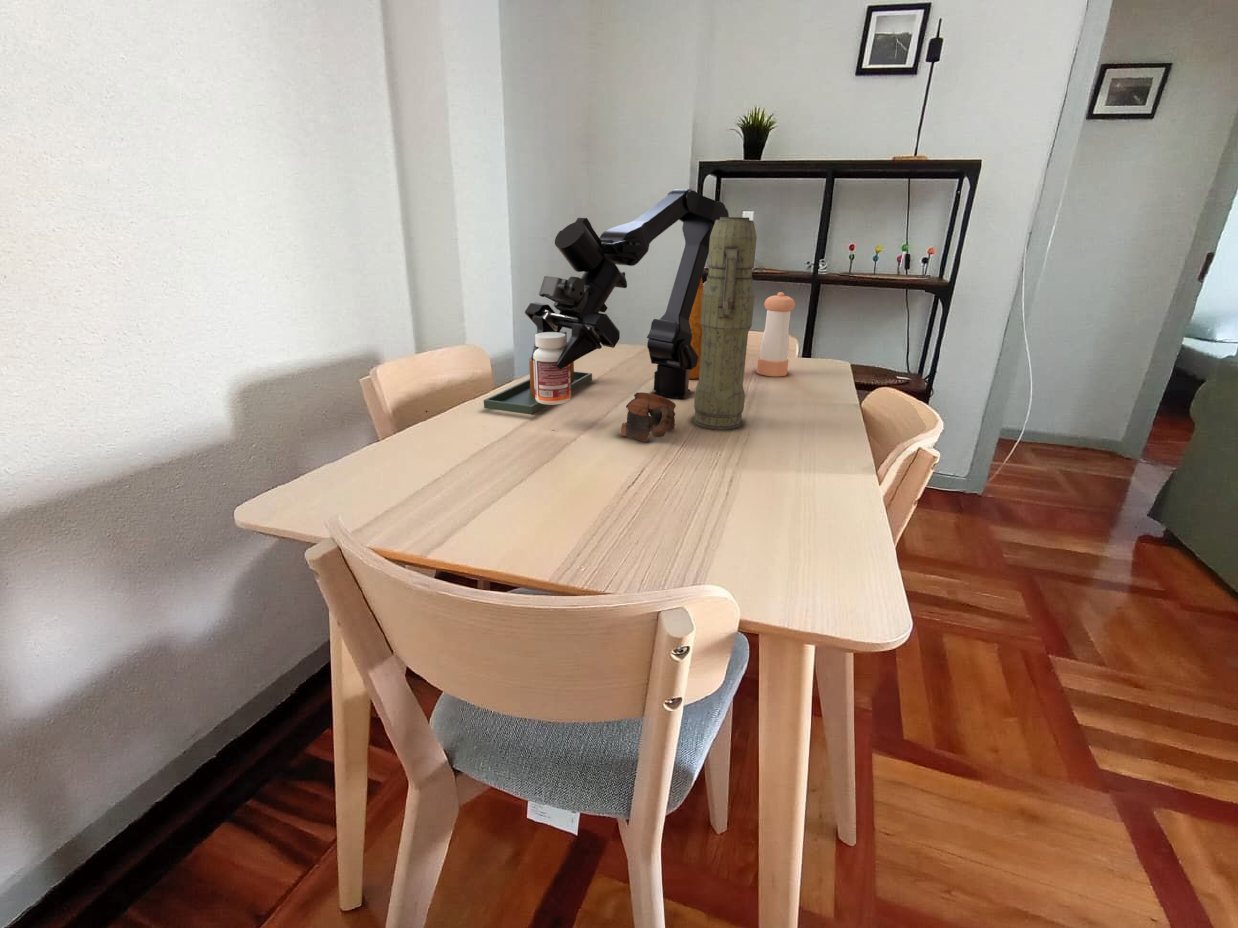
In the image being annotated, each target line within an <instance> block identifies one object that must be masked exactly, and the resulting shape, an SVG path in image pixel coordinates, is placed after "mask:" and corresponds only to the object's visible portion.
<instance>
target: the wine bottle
mask: <svg viewBox="0 0 1238 928" xmlns="http://www.w3.org/2000/svg"><path fill="white" fill-rule="evenodd" d="M703 290H704V283H703V276H702V277H701V281H700V284H699V287H698V291H697V294H696V298H695V301H694V304H693V308H692V311H691V314H690V318H689V323H690V328H691V332H692V339H691V344H690V345H691V346H692V348H693V349H694V351H695V352H696V354H697V355H698V362H697V365H696V367H694V368H693V369H691V370H689V380H695V379H696V380H697V379H698V380H699V371H700V357H701V343H702V327H701V324H700V319H701V305H702V293H703Z"/></svg>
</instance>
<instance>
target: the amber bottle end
mask: <svg viewBox="0 0 1238 928" xmlns="http://www.w3.org/2000/svg"><path fill="white" fill-rule="evenodd" d="M559 333H564V334H566V342H567V343H568V340H567V339H568V336H567V335H568V334H567V331H565V330H560V332H559ZM565 347H566V346H565ZM565 347H564V348H565ZM574 371H575V361H574V362H572V363H570V380H571V383H573V382H574Z"/></svg>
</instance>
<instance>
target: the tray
mask: <svg viewBox="0 0 1238 928" xmlns="http://www.w3.org/2000/svg"><path fill="white" fill-rule="evenodd" d="M591 381H593V373H591V372H584V371H575V370H574V382H573V383H571V393H572V392H574V391H576V390H577V389H579V388H581V387H582V386H585V385H586V384H588V383H590V382H591ZM548 406H549V405H547V404H541V403H539V402H537V401H536V399H535V395H533V394H531V393H530V378H528V379H526V380H524V381H522V382H519V383H517V384H515V385H513V386H511V387H508V388H506V389H504V390H502V391H500V392H498V393H496V394H494V395H491V396H489V397H487V398H484V399H483V409H487V410H495V411H502V412H511V413H515V414H516V413H518V414H524V415H531V416H532V415H534V414H536V413H537V412H539V411H541V410H542V409H544V408H546V407H548Z"/></svg>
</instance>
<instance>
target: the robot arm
mask: <svg viewBox="0 0 1238 928" xmlns="http://www.w3.org/2000/svg"><path fill="white" fill-rule="evenodd" d="M720 217H730V216H729V210H728V208H727V207H726V205H725V204H724V203H723V202H722V201H718V200H715V199H713V198H710V197H707V196H705V195H702V194H700V193H698V192H697V191H695V190H693V189H692V188H674V189H672V190H670V191H669V192H668V193H667V195H666V196H665V197H663V198H662V199H661V200H659V201H658V202H657V203H655V204H654V205H653V206H651V207H650V208H649V209H647V210H646V211H645V212H643V213H642V214H640V216H638V217H636V218H635V219H634V220H632V221H630V222H626V223H623V224H618V225H616V226H613V227H611V228H608V229H606V230H605V231H603V232H602V233H601V235H598V234H597V233H596V231H595V229H594V227H593V226H592V223H591V222H590V220H589V219H588V218H587V217H577V218H576V220H575V221H574V222H572V223H570V224H567V226H565V227H563V228H562V229H561V230H560V231H559V232H558V233H557V234H556V236H555V238H554V246H555V247H556V248H557V249H558V251H559V252H560V253H561V255H562V256H563V258H564V259H565V260H566V261H567V263H568V264H569V265H570V267H571V268H572V269H573V270H574V272H577V273H581V272H582V273H583V272H584V273H583V274H582V275H581V277H578V276H569V278H568V279H566V278H561V277H556V276H548V275H544V276H543V280H542V282H541V286H540V289H539V292H538V295H539V296H540V297H541V298H546V299H548V300H551V301H552V302H554V303H553V304H552V305H553V307H554V309H556V310H557V311H559V313H556V311H554V310H553V308H552V307H551V306H550V304H547V303H541V302H530V303H529V305H528V306H527V308H526V309H525V311H524V314H525V315H526V316H527V317H528V319H530V320H531V322H532V323H533V324H535V326H536V334H538V333H544V332H558V333H559V332H560V331H562V329H563V328H566V329H569V330H571V334H570V338H569V340H567V342H568V343H567V345H566V347H565V348H564V350H563V352H562V354H561V356H560V357H559V360H558V362H557V364H556V366H557V367H558V368H559V369H562V368H564V367H566V366H567V365H569V364H570V363H572V362H574V363H575V362H576V361H577V360H579V359H581V358H582V357H584V356H586V355H588V354H590V353H592V352H594V351H596V350H601V349H602V347H607V348H612V349H614V348H615V347H616V346H617V344H618V342H619V340H620V339H621V335H620V333H621V331H620V330H619V329H618V327H617V326H616V325H615V323H614V322H613V321H612V319H611V318H610V317H609V316H608V314H607V313H606V312H607V310H608V307H607V305H606V304H605V303H606V302H607V300H608V299H609V297H610V295H611V294H612V292H613V291H614V289H615V288H619V289H620V288H622V289H627V287H628V281H627V279H626V272H625V271H621V270H620V269H619V268H618V266H628V267H633V266H634V267H635V266H636V265H637V264H639V262H641V260H642V259H643V258H644V257H645V255H647V253H648V252H649V250H650V244H651V243H652V242H653V241H654V240H655V239H657V237H659V236H660V235H662V234H663V233H664V232H665V231H667V230H668V229H669V228H671V226H672V225H674V224H675V223H677V222H679V221H680V222H681V223H683V224H682V227H681V228H682V234H683V237H684V238H683V239H684V243H685V244H684V247H683V252H682V255H681V258H680V262H679V265H678V268H677V272H676V275H675V279H674V282H673V286H672V289H671V293H670V296H669V300H668V303H667V307H666V309H665V312H664V314H663V315H662V316H661V317H660V318H653V320H651V324H650V330H649V333H648V334H647V336H646V338H647V345H646V346H647V347H646V348H647V349H648V352H649V353H648V354H649V358H650V363H651V365H652V364H653V365H656V370H655V371H654V373H653V375H654V376H653V391H654V392H653V393H652V394H655V395H658V396H661V397H664V398H671V399H681V400H683V399H684V398H685V397H687V396H688V395H689V394H690V393H691V389H689V385H690V384H689V383H690V379H689V370H691V369H693V368H694V367H696V365H697V362H698V355H697V354H696V352H695V351H694V349H693V348H692V346H691V345H690V344H691V339H692V332H691V328H690V323H689V318H690V314H691V311H692V308H693V304H694V301H695V298H696V294H697V291H698V287H699V284H700V281H701V277H702V278H703V273H704V270H705V266H706V263H707V261H708V257H709V243H710V235H711V232H712V229H713V226H714V224H715V221H716V220H720ZM538 348H539V347H537V346H535V343H534V344H533V348H532V354H531V357H530V358H531V359H532V361H533V354H534V352H535V351H536V350H537V349H538Z"/></svg>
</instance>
